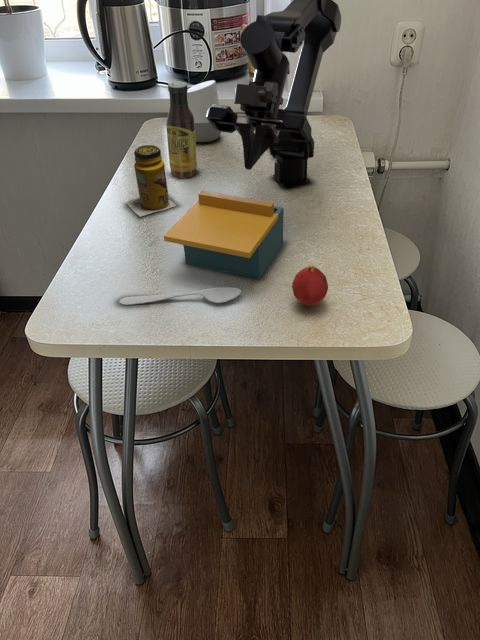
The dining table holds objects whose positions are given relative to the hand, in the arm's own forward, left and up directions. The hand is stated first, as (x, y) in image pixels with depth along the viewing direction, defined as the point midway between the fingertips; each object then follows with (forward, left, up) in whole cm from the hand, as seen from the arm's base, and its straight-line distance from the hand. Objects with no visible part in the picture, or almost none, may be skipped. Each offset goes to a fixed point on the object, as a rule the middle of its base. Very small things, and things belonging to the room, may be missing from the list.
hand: (247, 168), depth 105 cm
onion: (+1, +25, -14) cm, 29 cm away
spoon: (+20, +14, -14) cm, 28 cm away
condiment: (+13, -21, -14) cm, 28 cm away
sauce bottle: (+1, -32, -14) cm, 35 cm away
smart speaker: (-11, -49, -14) cm, 52 cm away
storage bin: (+5, +5, -14) cm, 15 cm away
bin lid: (+9, +8, -6) cm, 13 cm away
